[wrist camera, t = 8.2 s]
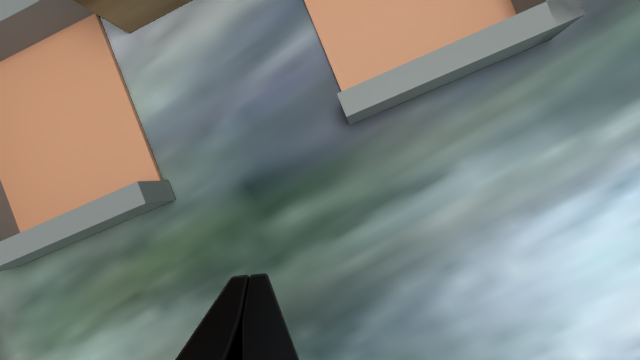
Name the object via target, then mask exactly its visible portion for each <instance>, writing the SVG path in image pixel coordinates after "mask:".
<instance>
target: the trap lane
mask: <svg viewBox="0 0 640 360" xmlns="http://www.w3.org/2000/svg"><path fill="white" fill-rule="evenodd" d="M304 2H305V4H306V6H307V9H308V11H309V14H310V16H311V19H312V21H313V23H314V26H315V28H316V31H317V33H318V36H319V38H320V40H321V43H322V45H323V48H324V50H325V53H326V55H327V57H328V60H329V62H330V65H331V67H332V70H333V72H334V74H335V77H336V79H337V82H338V84H339V86H340V89H341V92H339V93H337V95H338V98H339V101H340V103H341V106H342V108H343V111H344V113H345V115H346V118H347V120H348V123H349V125H351V124H353V123H356V122H358V121H360V120H363V119H365V118H368V117H370V116H372V115H375V114H377V113H379V112H382V111H384V110H386V109H389V108H391V107H393V106H396V105H398V104H400V103H403V102H405V101H407V100H410V99H412V98H414V97H417V96H419V95H421V94H424V93H426V92H428V91H431V90H433V89H436V88H438V87H440V86H443V85H445V84H447V83H450V82H452V81H454V80H457V79H459V78H461V77H464V76H466V75H468V74H471V73H473V72H475V71H478V70H480V69H482V68H485V67H487V66H489V65H492V64H494V63H496V62H499V61H501V60H503V59H506V58H508V57H511V56H513V55H515V54H518V53H520V52H522V51H525V50H527V49H529V48H532V47H534V46H536V45H539V44H541V43H543V42H546V41H548V40H550V39H552V38H553V37H555V36H556V35H558V34H559V33H560V32H562V31H563V30H564V29H566V28H567V27H568V26H570V25H571V24H572V23H574V22H575V21H576V20H578V19H579V18H580V17H582V16H583V15H584V12H583V10H582V7H581V5H580V3H579V1H578V0H304ZM173 200H175V197H174V194H173V191H172V189H171V186H170V184H169V181H168V180H166V181H163V179H162V177H161V174H160V171H159V169H158V166H157V164H156V161H155V159H154V156H153V153H152V151H151V148H150V146H149V143H148V141H147V138H146V136H145V133H144V130H143V128H142V125H141V123H140V120H139V118H138V115H137V113H136V110H135V107H134V105H133V102H132V100H131V97H130V95H129V92H128V89H127V87H126V84H125V82H124V79H123V77H122V74H121V72H120V69H119V66H118V64H117V61H116V59H115V56H114V54H113V51H112V48H111V46H110V43H109V41H108V38H107V36H106V33H105V31H104V28H103V25H102V23H101V20H100V18H99V15H97V14H95V13H93V12H92V11H90V10H88V9H87V8H85V7H83V6H82V5H80V4H78V3H77V2H75V1H73V0H0V271H3V270H6V269H10V268H14V267H18V266H21V265H23V264H25V263H28V262H30V261H32V260H35V259H37V258H39V257H42V256H44V255H46V254H49V253H51V252H53V251H56V250H58V249H60V248H63V247H65V246H68V245H70V244H72V243H75V242H77V241H79V240H82V239H84V238H86V237H89V236H91V235H93V234H96V233H98V232H100V231H103V230H105V229H107V228H110V227H112V226H114V225H117V224H119V223H121V222H124V221H126V220H128V219H131V218H133V217H135V216H138V215H140V214H143V213H145V212H147V211H150V210H152V209H154V208H157V207H159V206H161V205H164V204H166V203H168V202H171V201H173Z"/></svg>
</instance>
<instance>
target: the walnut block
mask: <svg viewBox="0 0 640 360" xmlns="http://www.w3.org/2000/svg"><path fill="white" fill-rule="evenodd" d="M73 1H75V2H77V3H78V4H80V5H82V6H83V7H85V8H87V9H88V10H90V11H92V12H93V13H95V14H97V15H99V16H100V17H102V18H104V19H105V20H107V21H109V22H110V23H112V24H114V25H115V26H117V27H119V28H121V29H122V30H124V31H126V32H127V33H129V34H130V33H132V32H134V31H136V30H138V29H139V28H141V27H143V26H145V25H147V24H149V23H151V22H153V21H155V20H156V19H158V18H160V17H162V16H164V15H166V14H168V13H170V12H172V11H173V10H175V9H177V8H179V7H181V6H183V5H185V4H187V3H188V2H190V1H192V0H73Z"/></svg>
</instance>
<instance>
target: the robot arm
mask: <svg viewBox="0 0 640 360" xmlns="http://www.w3.org/2000/svg"><path fill="white" fill-rule="evenodd" d="M175 360H299V358H298V355H297V353H296V350H295V347H294V345H293V342H292V339H291V337H290V334H289V331H288V328H287V326H286V323H285V320H284V318H283V315H282V312H281V310H280V307H279V304H278V302H277V299H276V296H275V293H274V291H273V288H272V285H271V283H270V280H269V277H268V275H267V274H265V273H264V274H253V275H251V276H250V277H249V276H248V275H242V276H233V277H232V278H231V279H230V280H229V281H228V283H227V284H226V286H225V287H224V289H223V290H222V292H221V293H220V295H219V296H218V298H217V299H216V301H215V302H214V304H213V305H212V306H211V308H210V309H209V311H208V312H207V314H206V315H205V317H204V318H203V320H202V321H201V323H200V324H199V326H198V327H197V329H196V330H195V331H194V333H193V334H192V336H191V337H190V339H189V340H188V342H187V343H186V345H185V346H184V348H183V349H182V351H181V352H180V354H179V355H178V356H177V358H176V359H175Z"/></svg>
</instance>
